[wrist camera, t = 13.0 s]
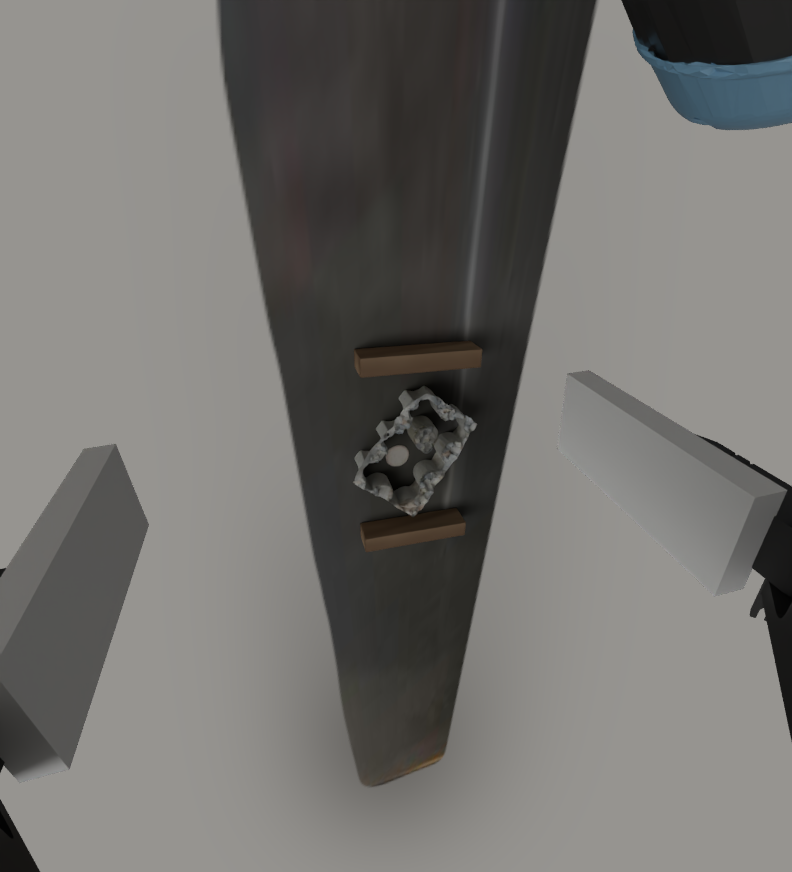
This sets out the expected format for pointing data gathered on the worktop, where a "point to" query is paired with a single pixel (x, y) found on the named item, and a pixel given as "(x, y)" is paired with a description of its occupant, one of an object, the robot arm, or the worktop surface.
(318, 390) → the worktop surface
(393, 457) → the egg carton
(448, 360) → the parallel wooden rails
